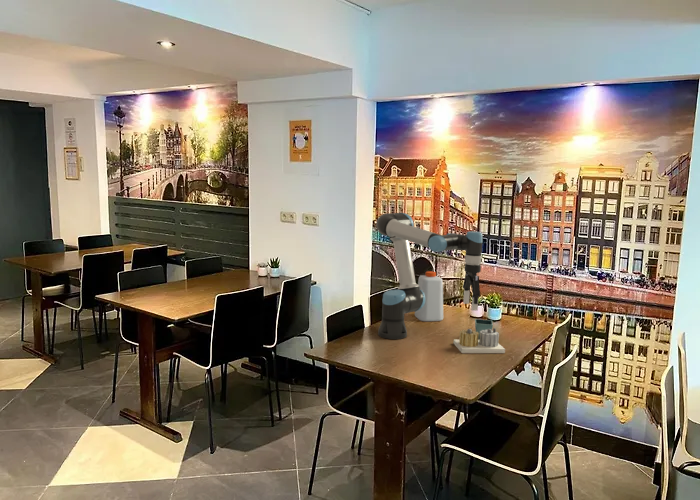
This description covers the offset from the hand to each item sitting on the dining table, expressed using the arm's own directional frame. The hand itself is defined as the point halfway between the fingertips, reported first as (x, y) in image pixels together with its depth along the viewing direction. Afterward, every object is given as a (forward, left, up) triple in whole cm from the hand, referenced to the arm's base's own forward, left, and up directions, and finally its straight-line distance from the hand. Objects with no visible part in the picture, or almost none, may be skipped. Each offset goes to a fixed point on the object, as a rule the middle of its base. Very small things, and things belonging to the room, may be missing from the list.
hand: (470, 306), depth 254 cm
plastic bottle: (-7, +55, -21) cm, 59 cm away
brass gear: (0, 0, -19) cm, 19 cm away
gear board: (+5, 0, -21) cm, 21 cm away
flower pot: (+13, +16, -21) cm, 29 cm away
